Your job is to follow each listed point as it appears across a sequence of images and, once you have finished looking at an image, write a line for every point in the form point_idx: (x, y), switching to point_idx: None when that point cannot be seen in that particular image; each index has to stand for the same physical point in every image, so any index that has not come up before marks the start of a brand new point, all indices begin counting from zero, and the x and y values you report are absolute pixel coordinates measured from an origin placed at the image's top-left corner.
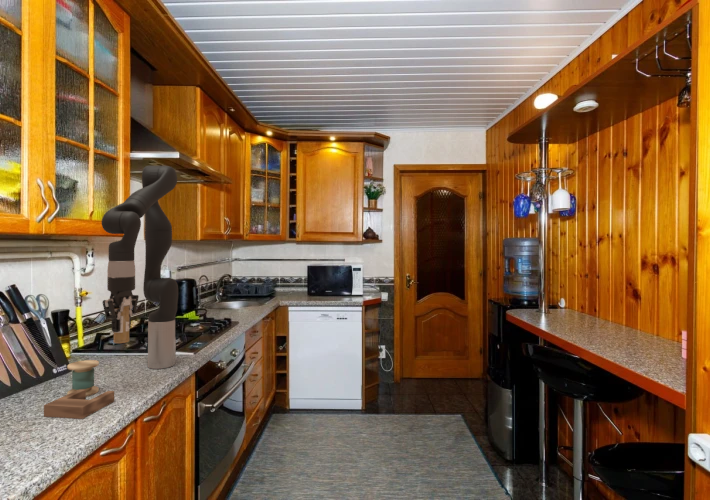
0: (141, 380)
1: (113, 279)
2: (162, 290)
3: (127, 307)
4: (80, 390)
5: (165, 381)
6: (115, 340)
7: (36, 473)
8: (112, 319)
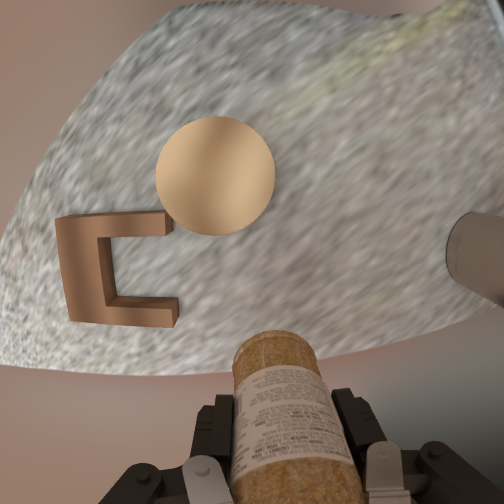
0: (353, 277)
1: None
2: None
3: None
4: (156, 224)
5: (347, 347)
6: (236, 366)
7: None
8: (182, 473)
